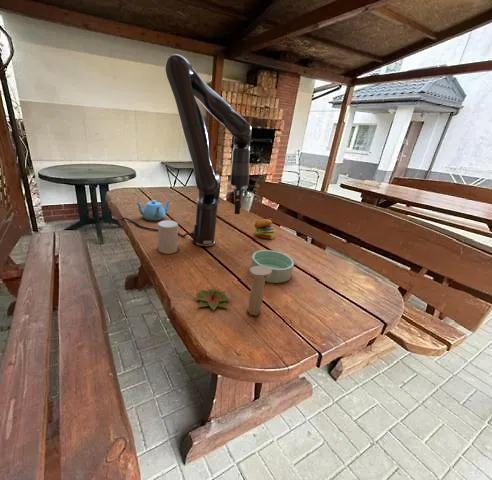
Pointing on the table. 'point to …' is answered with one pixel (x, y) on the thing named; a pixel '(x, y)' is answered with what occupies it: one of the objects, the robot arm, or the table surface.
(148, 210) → the teapot
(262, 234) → the cheeseburger
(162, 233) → the white cylinder
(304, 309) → the table surface
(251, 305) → the handle
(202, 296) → the lily flower
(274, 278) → the pale green bowl
